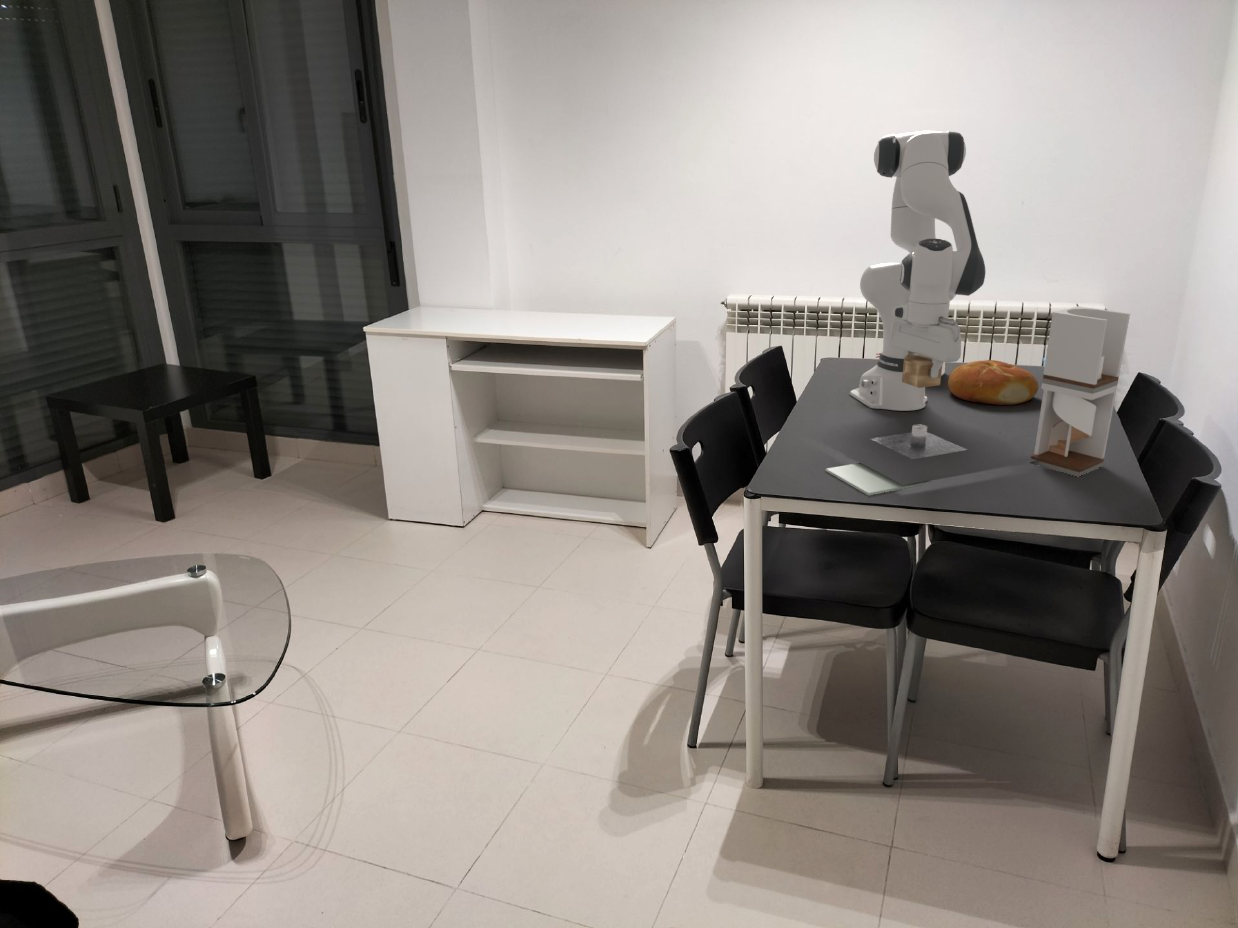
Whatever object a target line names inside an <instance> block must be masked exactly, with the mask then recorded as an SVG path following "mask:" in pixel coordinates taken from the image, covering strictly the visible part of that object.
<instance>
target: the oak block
mask: <svg viewBox="0 0 1238 928" xmlns="http://www.w3.org/2000/svg"><path fill="white" fill-rule="evenodd" d="M933 364H934V363H932V358H930V357H926V356H923V355H914V356H906V357H904V364H903V375H902V382H903V383H906V384H909V385H912V386H915V387H918V388H922V387H925V388H929V387H935V386H940V385H941V378H942V376H941V372H942V366H941V368H940V369H939V372H938V377H936V378H932V377H929V376H928V369H931V368H932V366H933Z"/></svg>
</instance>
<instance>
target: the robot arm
mask: <svg viewBox="0 0 1238 928" xmlns="http://www.w3.org/2000/svg"><path fill="white" fill-rule="evenodd" d="M964 139H965V138H964V136H963V135H962V134H961V133H960V132H957V131H951V130H946V131H937V130H921V131H913V132H906V133H905V132H904V133H899V134H895V133H892V134H891V133H890V134H887V135H884V136H882V137H881V138H880V139H879V140H878V142H877V144H876V146H875V150H874V154H873V163H874V166H875V169H876V172H877V173H878V174H879V176H881V177H885V178H893V177H896V179H895V181H894V182H895V183H894V186H893V193H892V201H891V219H890V220H891V221H890V238H891V241H892V242H893V243H894V244H895V246H897V247H899V248H901V249H903V250H905V251H907V252H908V254H907V255H906V256H905V257H904V258H902V260H901V262H883V263H877V264H874V265H873V264H872V265H869V266H867V268H866V269H865V270H864V272H863V273H862V275H861V278H860V285H859V288H860V292H861V295H862V296H863V297H864V299H865V300H866V301H867V302H868V303H869V304H870V305H872V307H874V308H875V310H876V312H877V313H878V315H879V316H880V319H881V323H882V331H883V332H882V333H883V338H882V339H883V340H882V351H881V352H880V353H876V354H875V355H876V356H875V358H877V362H876V365H875V366H873V367H872V368H870V369H869V370H867V371H866V372H864V373H863V374H861V376H860V380H859V385H858V388H857V387H856V388H855V389H852V390H850V392H849V395H850V396H851V397H853V398H854V399H855V400H857V401H860V403H862V404H864V405H865V406H867V407H868V408H870V409H877V410H878V409H880V410H881V409H882V410H890V411H900V412H901V411H903V412H904V411H907V412H908V411H916V410H917V411H918V410H921V409H923V408H925V407H926V402H928V396H926V387H922V388H918V387H915V386H912V385H909V384H906V383H903V382H902V375H903V364H904V357H906V356H914V355H923V356H926V357H930V358H932V363H934V364H933V366H932V368H931V369H928V376H929V377H932V378H936V377H938V372H939V369H940V368H941V366H942V365H943V363H944V362H945V364H946V363H947V364H948V363H955V362H956V363H957V362H958V361H959V359H961V355H962V334H961V327H960V326H959V324H958V323H957V321H956V320H955V319H949V313H950V303H951V301H953V300H954V298H955V297H956V296H966V297H967V296H968V297H969V296H971V295H972V294H974V293H976V291H978V290H979V289H980V288H981V287H983V285H984V282H985V280H986V266H985V260H984V257H983V254H982V252H981V250H980V246H979V244H978V240H977V236H976V232H975V231H976V230H975V227H974V223H973V219H972V216H971V211H970V208H969V204H968V201H967V198H966V197H965V195H964V193H962V192H961V191H959V190H957V188H956V187H955V186H954V185H953V183H952V182H951V178H950V177H951V176H953V175H955V174H956V173H957V172H959V170H960V169H961V168H962V167H963V164H964V161H965V160H966V159H965V158H966V155H967V147H966V142H965V140H964ZM936 220H939V221H941V222H942V223H944V224H946V225H948V227H949V228H950V229H951V231H952V234H953V240H954V243H955V248H956V250H954V249H953V244H952V243H951V242H950V241H948V240H946V239H942V238H937V237H936ZM953 250H954V251H953Z"/></svg>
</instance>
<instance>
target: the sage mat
mask: <svg viewBox="0 0 1238 928" xmlns="http://www.w3.org/2000/svg"><path fill="white" fill-rule="evenodd" d="M825 472H826V473H828V474H829V475H832V476H834V477H835V478H836V479H839V480H841V481H842V482H844V483H846V484H848V485H849V486H851V487H853V488H854V489H856V490H858V491H860V492H861V493H863V494H865V495H866V496H869V497H870V496H873V495H874V494H875V495H879V494H884V492H885V493H890V491H891V492H896V491H900V489H902V490H906V489H911V488H916V487H923V486H928V485H930V483H931V481H929V480H924V481H920V482H913V483H908V484H907V483H906V484H902V483H900V482H899V481H898V482H897V481H896V480H895V479H893V478H890V477H888V476H886V475H885V474H883V473H881V472H879V471H877V470H875V469H873V468H872V467H869V466H867V465H865V464H864V463H862V462H857V463H851V464H844V465H840V466H839V465H838V466H833V467H827V468H825Z"/></svg>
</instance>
